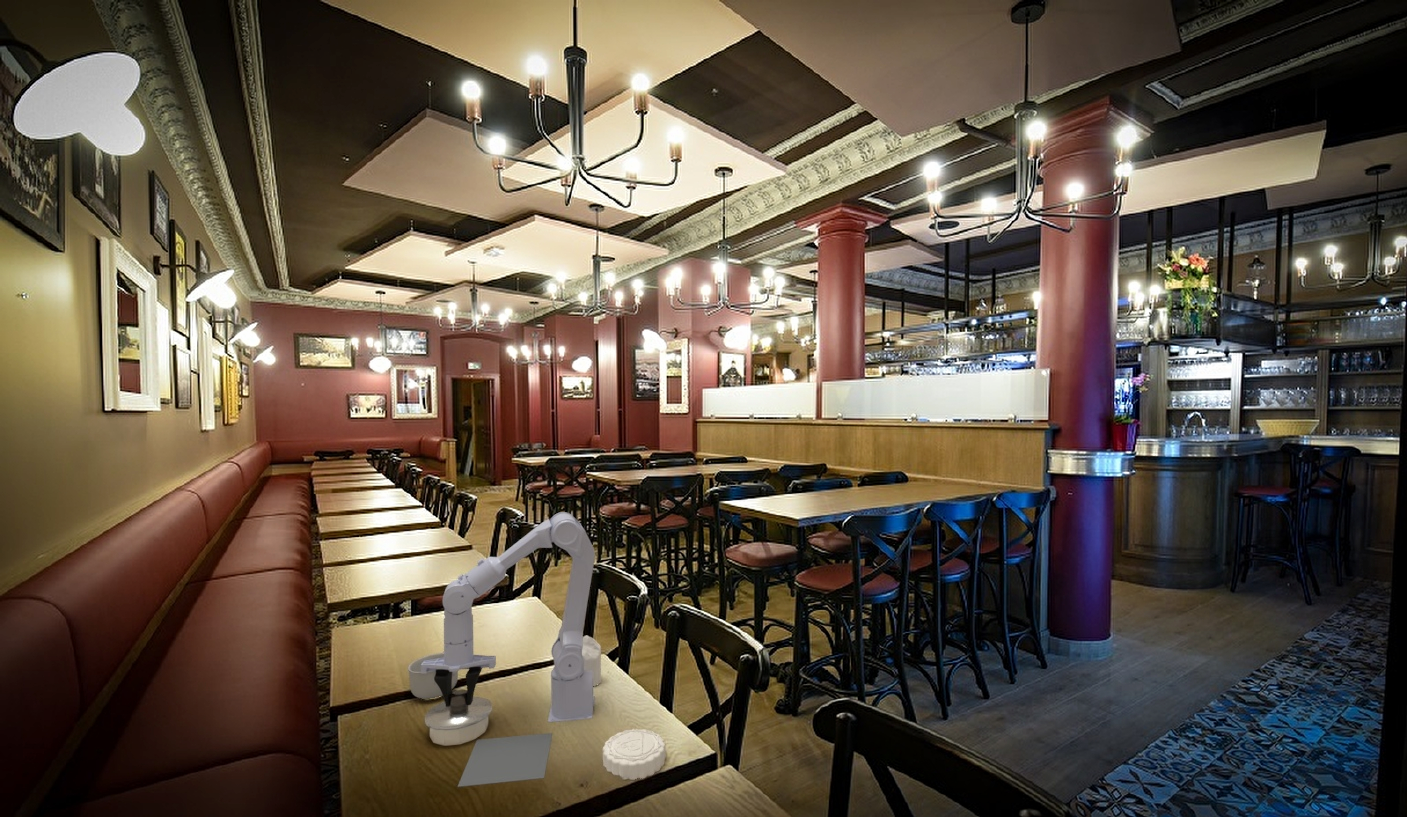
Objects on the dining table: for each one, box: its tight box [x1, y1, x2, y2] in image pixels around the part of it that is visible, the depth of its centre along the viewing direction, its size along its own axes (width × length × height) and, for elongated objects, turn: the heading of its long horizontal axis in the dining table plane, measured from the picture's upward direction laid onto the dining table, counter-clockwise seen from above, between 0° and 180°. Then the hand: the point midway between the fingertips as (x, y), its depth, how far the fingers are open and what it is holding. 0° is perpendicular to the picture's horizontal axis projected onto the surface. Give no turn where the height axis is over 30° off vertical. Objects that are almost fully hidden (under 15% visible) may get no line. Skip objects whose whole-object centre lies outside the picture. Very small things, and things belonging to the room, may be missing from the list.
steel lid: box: [424, 689, 493, 730], centre depth 123 cm, size 13×13×4 cm
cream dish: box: [429, 716, 489, 747], centre depth 123 cm, size 11×11×4 cm
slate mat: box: [457, 732, 554, 788], centre depth 113 cm, size 15×15×1 cm
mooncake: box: [602, 728, 666, 781], centre depth 112 cm, size 12×12×4 cm
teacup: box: [407, 650, 459, 700], centre depth 141 cm, size 14×11×8 cm
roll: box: [582, 635, 602, 687], centre depth 145 cm, size 6×12×6 cm
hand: (459, 703), depth 123 cm, fingers closed on steel lid, 4 cm apart
